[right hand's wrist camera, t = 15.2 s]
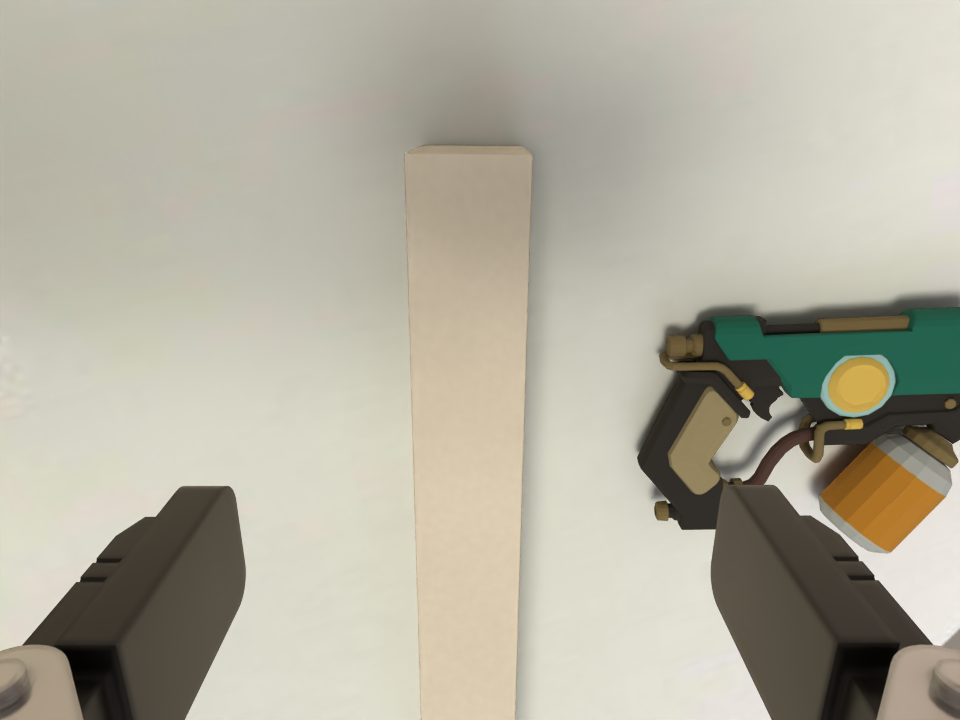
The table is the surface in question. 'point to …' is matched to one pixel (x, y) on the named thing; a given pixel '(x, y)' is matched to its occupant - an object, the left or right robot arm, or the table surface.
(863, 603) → the right robot arm
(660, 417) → the spray gun
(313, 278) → the table surface
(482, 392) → the bar
